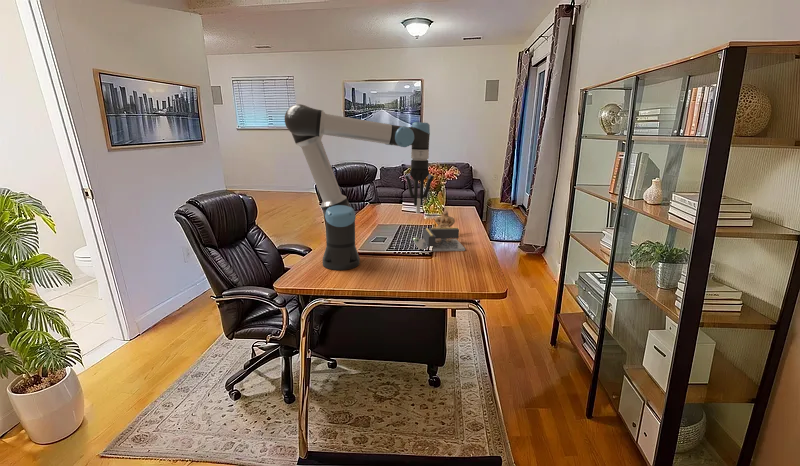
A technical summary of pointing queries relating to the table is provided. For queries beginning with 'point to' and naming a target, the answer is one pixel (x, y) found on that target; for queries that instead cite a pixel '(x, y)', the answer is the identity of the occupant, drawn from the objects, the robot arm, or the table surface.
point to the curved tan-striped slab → (445, 233)
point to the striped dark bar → (429, 237)
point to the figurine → (444, 221)
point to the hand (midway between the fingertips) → (417, 212)
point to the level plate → (440, 244)
